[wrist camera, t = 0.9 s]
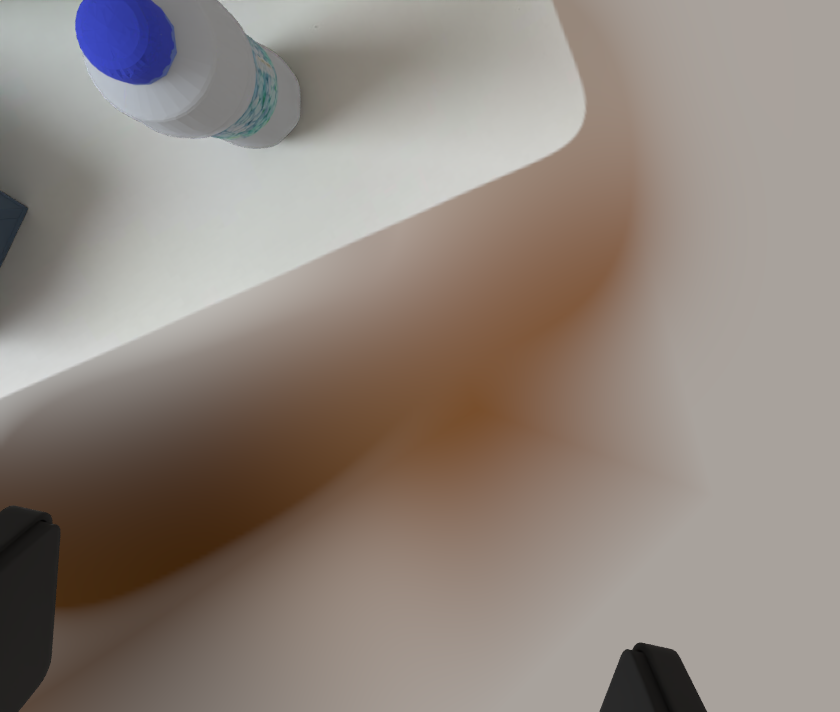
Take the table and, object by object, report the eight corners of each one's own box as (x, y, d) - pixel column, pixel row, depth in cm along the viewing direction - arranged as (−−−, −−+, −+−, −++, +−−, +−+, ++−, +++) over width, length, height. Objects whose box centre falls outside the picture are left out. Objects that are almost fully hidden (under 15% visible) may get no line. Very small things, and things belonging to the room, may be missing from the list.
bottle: (287, 33, 41) (145, -108, 22) (325, 133, 43) (223, 85, 23) (197, 71, 42) (-17, -32, 23) (237, 168, 43) (69, 149, 24)
